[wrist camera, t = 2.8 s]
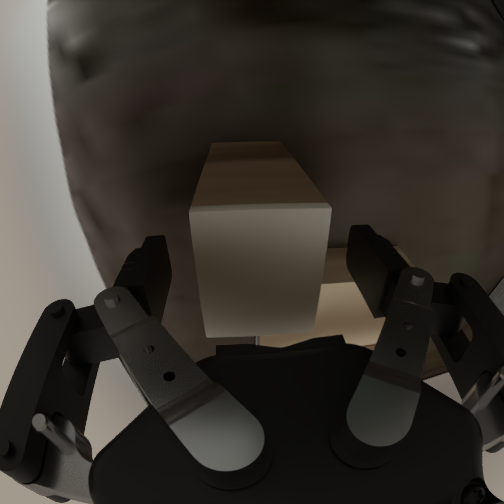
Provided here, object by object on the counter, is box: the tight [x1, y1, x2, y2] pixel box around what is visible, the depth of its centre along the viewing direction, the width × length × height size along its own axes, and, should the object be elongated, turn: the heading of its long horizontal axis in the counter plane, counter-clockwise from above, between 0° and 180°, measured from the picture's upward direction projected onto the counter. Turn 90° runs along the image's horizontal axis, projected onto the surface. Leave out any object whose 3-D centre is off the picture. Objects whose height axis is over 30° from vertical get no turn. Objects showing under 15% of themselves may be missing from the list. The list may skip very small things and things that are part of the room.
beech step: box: [257, 246, 415, 350], centre depth 21 cm, size 7×11×4 cm, turn 91°
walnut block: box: [189, 141, 332, 338], centre depth 14 cm, size 5×4×10 cm
